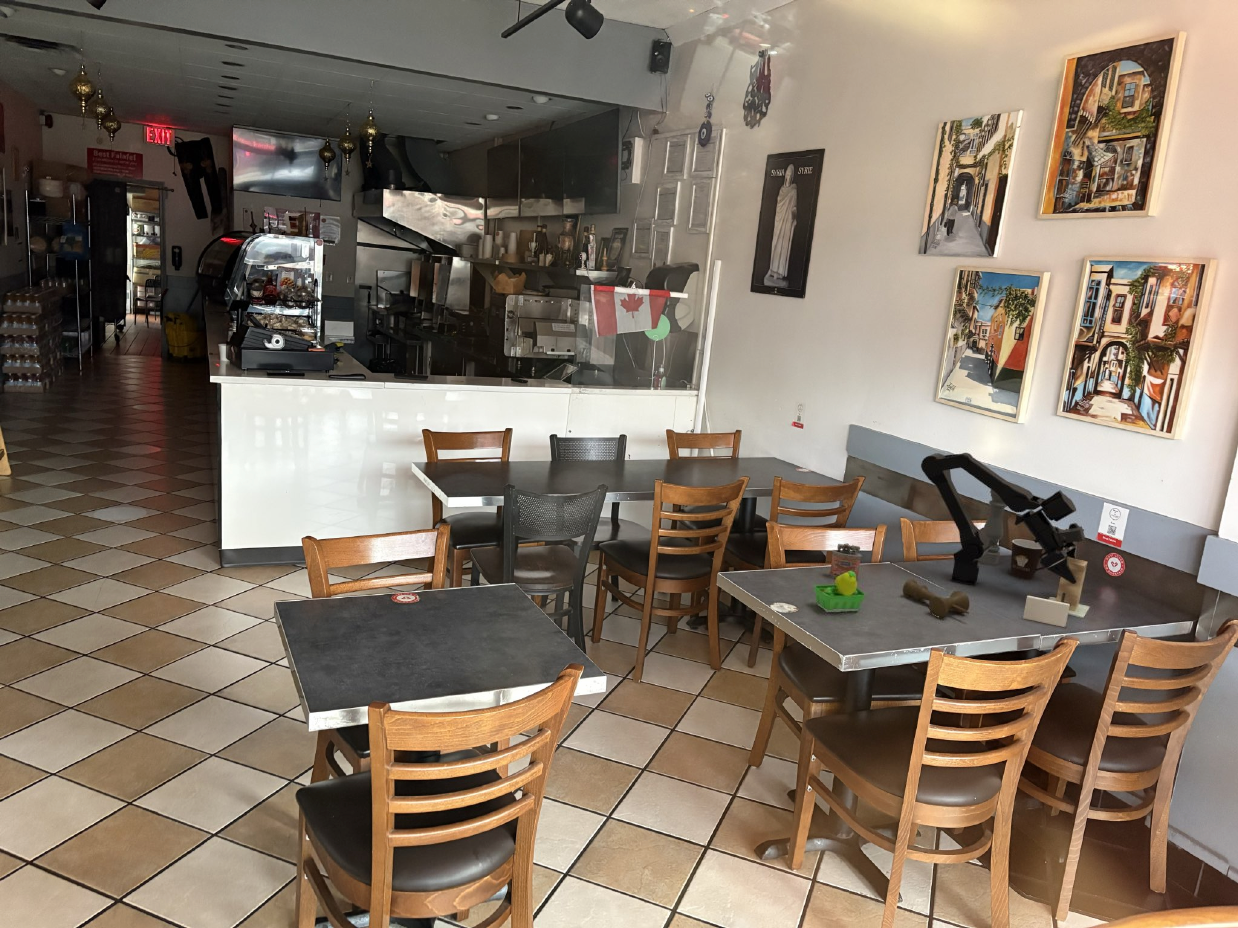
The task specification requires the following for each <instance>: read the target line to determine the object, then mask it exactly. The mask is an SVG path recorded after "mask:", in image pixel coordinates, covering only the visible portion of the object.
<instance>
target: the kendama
mask: <svg viewBox="0 0 1238 928" xmlns="http://www.w3.org/2000/svg"><path fill="white" fill-rule="evenodd" d="M902 593H903V596H904V597H906V596H907V597H906V598H911V597H912V598H915V600H916V601H919V602H920V601H929V602H928V609H929V612H930V614H932V613H933V614H934V615H936V616H939V617H942V618H944V617H945V616H946V615H947V614H948V612H951V611H953V612H956V613H957V612H958V613H957V614H961V613H963V614H970V611H969V609H970V599H969V596H968V595H967V594H966V593H965V592H964V591H962V590H954V591H953V592H952V593H951V594H950V596H949V597H947V598H944V597H941V596H938V595H936V594H935V593H934V592H932V591H930V590H929V589H928V586H927V585H920V584H918V582H917V581H916V580H915V579H912V578H911V579H908V580H906V582H905V583H904V585H903V586H902ZM934 615H933V616H934ZM936 616H935V617H936Z"/></svg>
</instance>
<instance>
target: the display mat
mask: <svg viewBox="0 0 1238 928" xmlns="http://www.w3.org/2000/svg"><path fill="white" fill-rule="evenodd" d="M1056 598H1057V597H1054V596H1049V598H1048V599H1047V600H1052V601H1056ZM1090 608H1091V607H1090V606H1088V605H1085V604H1084V605H1083V604H1081V603H1079V605H1078V607H1077V609H1076V611H1071V610H1069V611H1068V616H1069V615H1070V616H1073V617H1077V618H1081V619H1084V618H1085V615H1086V614H1087V613H1088V612H1089V609H1090Z"/></svg>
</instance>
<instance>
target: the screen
mask: <svg viewBox="0 0 1238 928" xmlns="http://www.w3.org/2000/svg"><path fill="white" fill-rule="evenodd" d="M1069 607H1070V604H1067V603H1062V602H1057V601H1052V600H1048V599H1047V598H1046V599H1045V598H1041V597H1037V596H1032V595H1026V600H1025V605H1024V611H1023V615H1022V619H1023V620H1029V621H1034V622H1038V623H1044V624H1047V625H1053V626H1057V627H1063V628H1066V624H1067V620H1068V616H1069V614H1068V611H1069Z"/></svg>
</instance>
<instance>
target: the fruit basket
mask: <svg viewBox="0 0 1238 928" xmlns="http://www.w3.org/2000/svg"><path fill="white" fill-rule="evenodd" d="M857 582H858V581H856V574H855V573H854V572H852V571H848V572H847V573H844V574H842V575H840V576H838V577H837V578H835V580H834V583H835V584H821V585H820V584H819V585H818V584H817V585H816V584H814V587H813V588H814V593H815V599H816V604H817V603H818V604H820V605H821V606H822V607H824V608H825V609H827V610H833V609H858V610H859V608H860V607H861V604H862V602H863V600H864V599H865V597H866V593H864V592H863V591H862V590H861V589H859V588H857V587H858V583H857Z"/></svg>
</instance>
